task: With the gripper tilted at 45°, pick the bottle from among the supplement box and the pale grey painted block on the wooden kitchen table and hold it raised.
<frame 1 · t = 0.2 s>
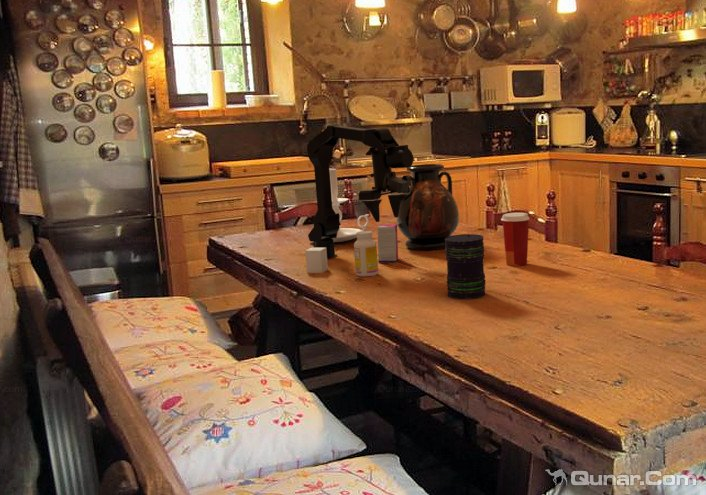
hand: (387, 219, 236), 14 cm above the table, tool pointing down, fingers open, 9 cm apart
storage jar: (466, 295, 196), on the table
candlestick: (341, 240, 288), on the table
amphora vase: (429, 246, 264), on the table
grey block: (317, 271, 237), on the table
coffee cup: (516, 264, 227), on the table
supplement box: (388, 261, 245), on the table
supplement bottle: (367, 275, 227), on the table
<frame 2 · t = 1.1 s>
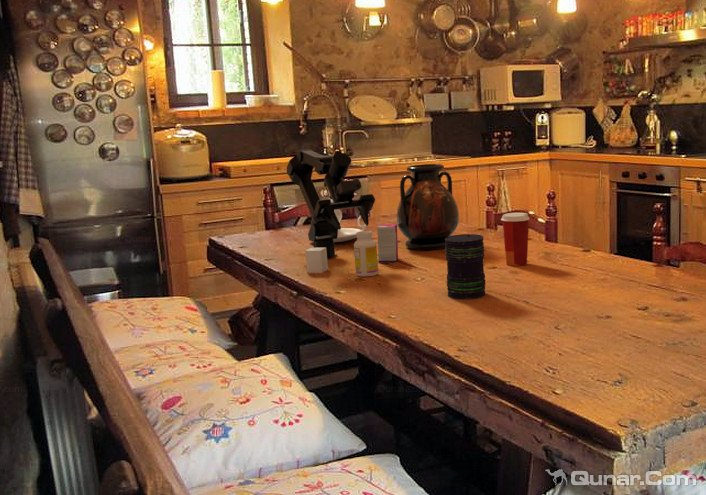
hand: (354, 226, 231), 14 cm above the table, tool tilted 45°, fingers open, 9 cm apart
nothing on the table moved.
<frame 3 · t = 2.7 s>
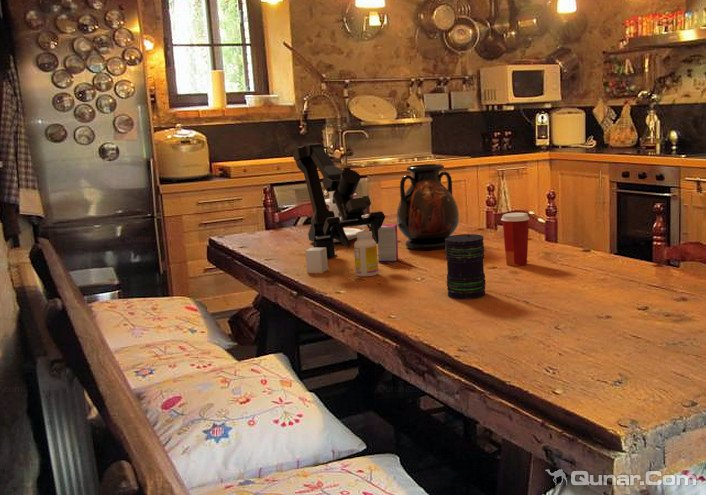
hand: (363, 245, 226), 9 cm above the table, tool tilted 45°, fingers open, 9 cm apart
nothing on the table moved.
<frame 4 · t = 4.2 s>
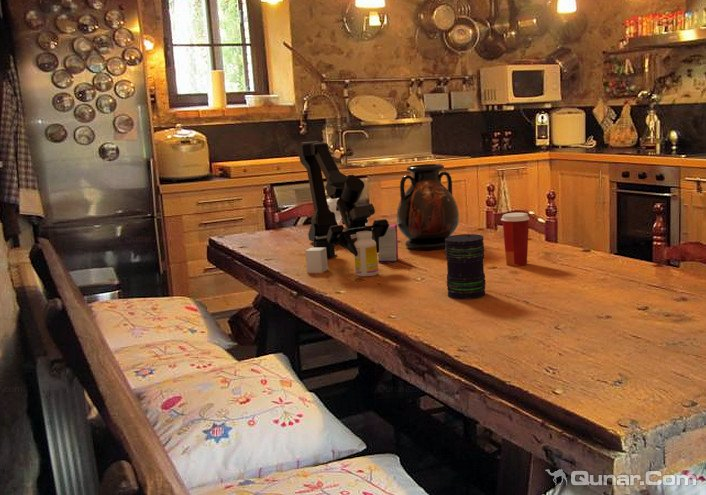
hand: (367, 253, 224), 7 cm above the table, tool tilted 45°, fingers closed on supplement bottle, 7 cm apart
supplement bottle: (367, 275, 227), on the table, touching gripper
everything else where it was.
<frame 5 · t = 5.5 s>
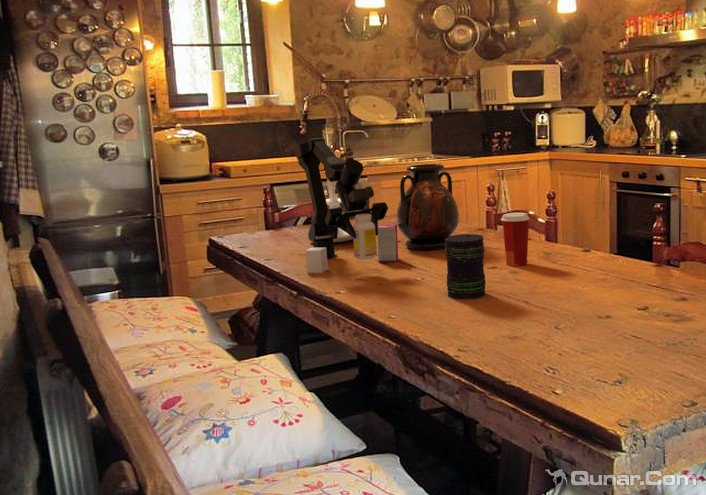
hand: (366, 236, 223), 12 cm above the table, tool tilted 45°, fingers closed on supplement bottle, 7 cm apart
supplement bottle: (365, 258, 226), point 5 cm above the table, touching gripper
everything else where it was.
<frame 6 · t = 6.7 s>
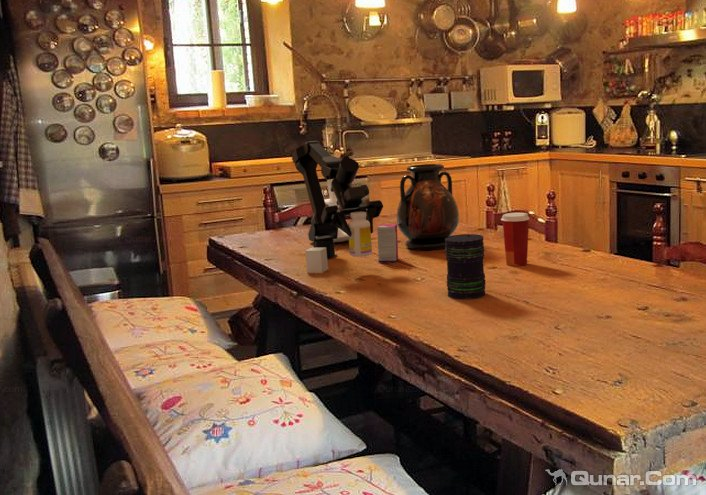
hand: (361, 234, 226), 12 cm above the table, tool tilted 45°, fingers closed on supplement bottle, 7 cm apart
supplement bottle: (360, 255, 229), point 5 cm above the table, touching gripper
everything else where it was.
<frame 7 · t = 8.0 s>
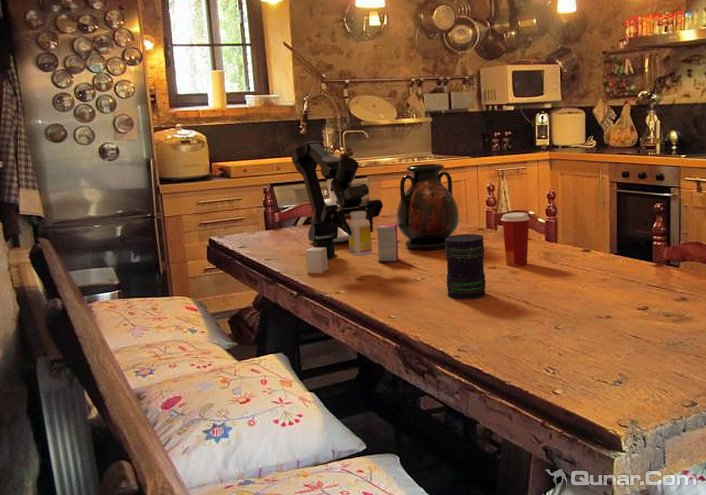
hand: (361, 233, 226), 12 cm above the table, tool tilted 45°, fingers closed on supplement bottle, 7 cm apart
supplement bottle: (360, 254, 229), point 5 cm above the table, touching gripper
everything else where it was.
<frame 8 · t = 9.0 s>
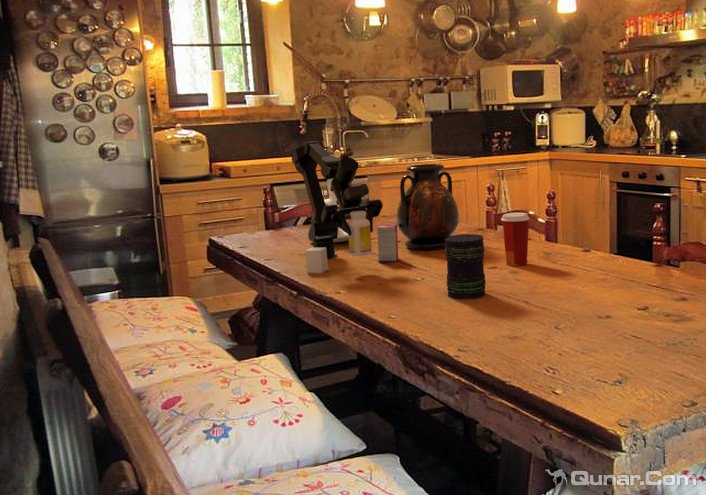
hand: (361, 233, 226), 12 cm above the table, tool tilted 45°, fingers closed on supplement bottle, 7 cm apart
supplement bottle: (360, 254, 229), point 5 cm above the table, touching gripper
everything else where it was.
at the end: the gripper is holding supplement bottle; supplement bottle point 5.5 cm above the table; grey block moved 0.1 cm from its start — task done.
